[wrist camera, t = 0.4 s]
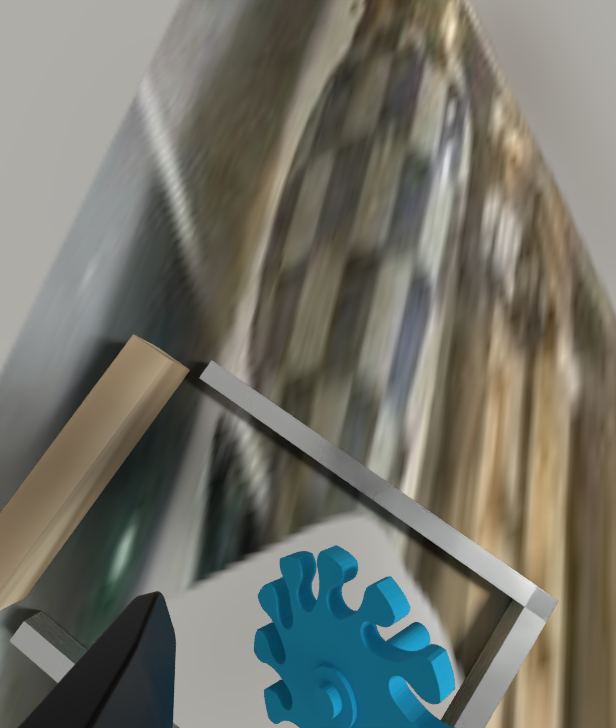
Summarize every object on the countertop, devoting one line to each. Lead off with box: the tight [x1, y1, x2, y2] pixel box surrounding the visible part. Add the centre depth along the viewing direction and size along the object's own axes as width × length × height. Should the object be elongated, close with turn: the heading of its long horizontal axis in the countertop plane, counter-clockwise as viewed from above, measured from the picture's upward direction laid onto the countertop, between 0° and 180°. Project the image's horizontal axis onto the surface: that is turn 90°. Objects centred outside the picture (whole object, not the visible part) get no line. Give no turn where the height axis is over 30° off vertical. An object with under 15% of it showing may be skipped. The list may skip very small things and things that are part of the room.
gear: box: [254, 546, 456, 728], centre depth 18 cm, size 11×6×10 cm
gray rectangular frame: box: [10, 361, 558, 728], centre depth 20 cm, size 18×15×1 cm
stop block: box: [0, 334, 190, 610], centre depth 21 cm, size 2×13×3 cm, turn 145°
